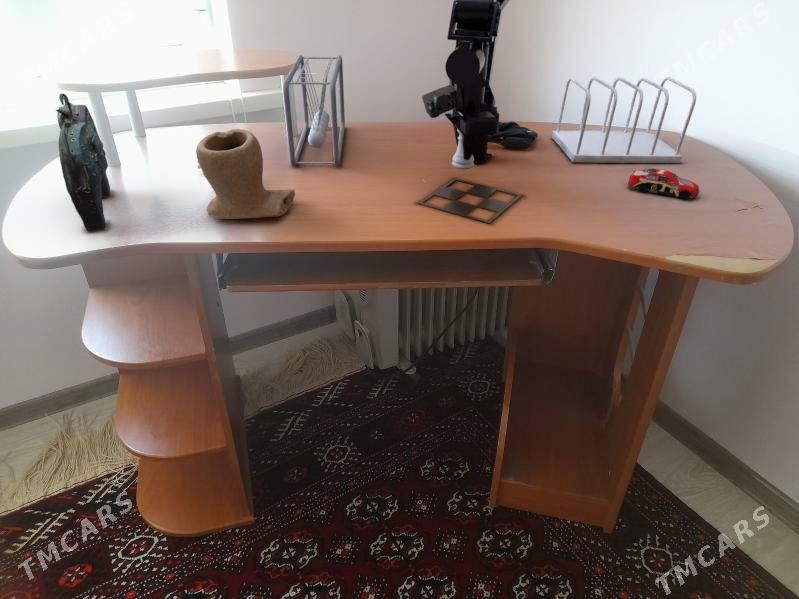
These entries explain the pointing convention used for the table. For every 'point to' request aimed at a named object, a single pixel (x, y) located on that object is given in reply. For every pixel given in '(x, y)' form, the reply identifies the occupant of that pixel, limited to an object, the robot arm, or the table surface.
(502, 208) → the chessboard
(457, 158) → the rook chess piece
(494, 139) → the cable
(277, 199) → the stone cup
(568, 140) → the file sorter
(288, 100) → the newton's cradle
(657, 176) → the race car
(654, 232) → the table surface
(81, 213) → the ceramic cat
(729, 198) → the table surface
